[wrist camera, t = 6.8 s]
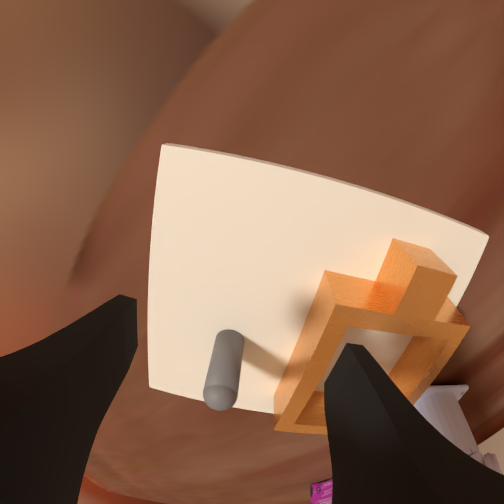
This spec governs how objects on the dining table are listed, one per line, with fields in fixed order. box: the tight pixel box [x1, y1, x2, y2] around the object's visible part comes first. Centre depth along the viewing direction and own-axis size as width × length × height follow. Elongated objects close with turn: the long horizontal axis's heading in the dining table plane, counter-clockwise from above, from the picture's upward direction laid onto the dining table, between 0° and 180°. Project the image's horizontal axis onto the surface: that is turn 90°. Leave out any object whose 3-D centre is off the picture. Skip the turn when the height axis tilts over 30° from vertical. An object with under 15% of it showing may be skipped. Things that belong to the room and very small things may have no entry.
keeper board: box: [148, 143, 489, 413], centre depth 17 cm, size 20×22×7 cm
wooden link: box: [273, 238, 471, 434], centre depth 18 cm, size 15×10×4 cm, turn 168°
